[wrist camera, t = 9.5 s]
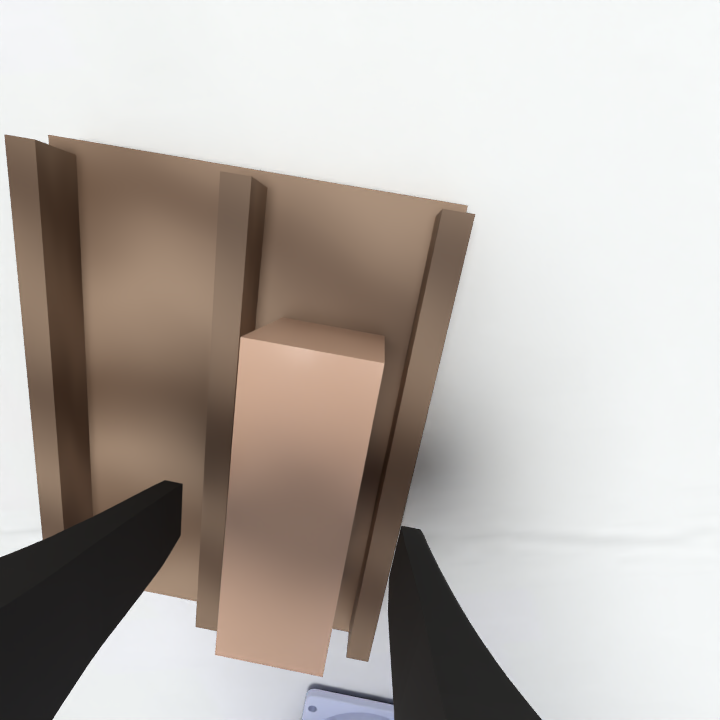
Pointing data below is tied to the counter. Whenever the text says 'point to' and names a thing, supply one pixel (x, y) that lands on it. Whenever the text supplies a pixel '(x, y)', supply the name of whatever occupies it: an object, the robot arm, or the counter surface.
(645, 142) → the counter surface
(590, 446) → the counter surface
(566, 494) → the counter surface
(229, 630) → the peach rectangular block
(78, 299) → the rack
